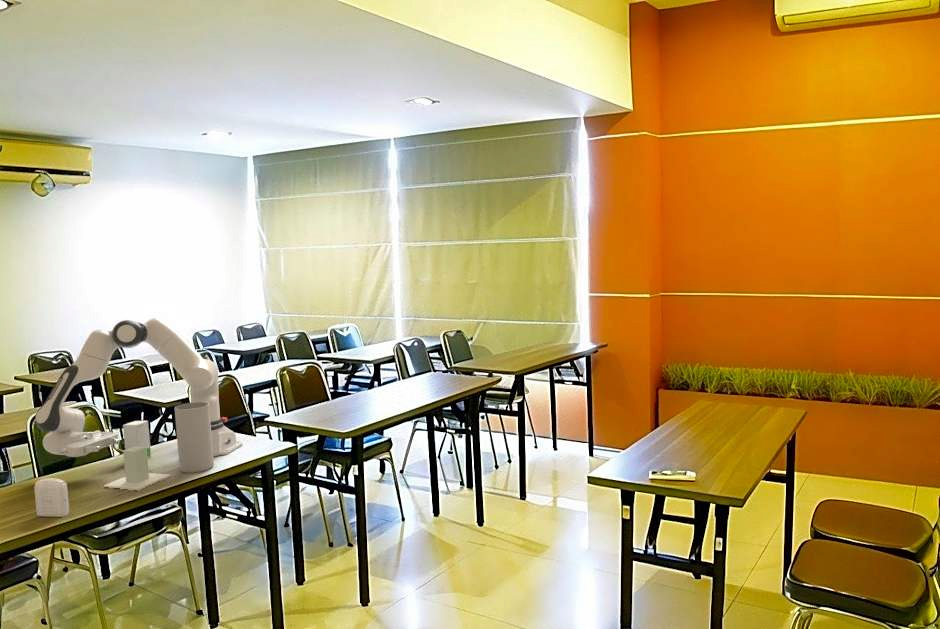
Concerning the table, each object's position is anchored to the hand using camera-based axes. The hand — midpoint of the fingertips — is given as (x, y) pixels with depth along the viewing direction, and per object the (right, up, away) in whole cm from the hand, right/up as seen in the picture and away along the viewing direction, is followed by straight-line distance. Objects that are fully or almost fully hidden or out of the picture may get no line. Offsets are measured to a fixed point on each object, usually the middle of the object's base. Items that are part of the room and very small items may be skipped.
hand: (108, 445), depth 273 cm
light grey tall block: (+13, -12, -3) cm, 18 cm away
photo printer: (-1, -17, -34) cm, 38 cm away
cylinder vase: (+29, -11, +11) cm, 33 cm away
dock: (+13, -13, -3) cm, 18 cm away
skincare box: (-1, -11, +27) cm, 29 cm away
